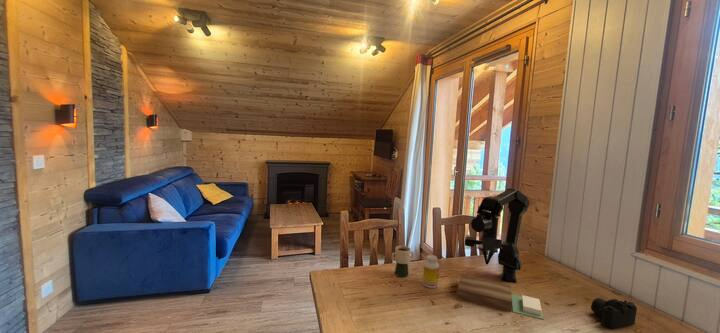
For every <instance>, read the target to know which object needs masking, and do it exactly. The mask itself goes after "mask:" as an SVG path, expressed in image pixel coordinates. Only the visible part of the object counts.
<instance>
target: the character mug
mask: <svg viewBox="0 0 720 333" xmlns="http://www.w3.org/2000/svg"><path fill="white" fill-rule="evenodd" d="M394 248H395V249H394V252H392V253H391V260H394V261H395V262H396V265H395V269H394V270H395V271H394V274H395V275H396V276H398V277H401V278H405V277H408V276H409V265H408V264H409V263H411V259H413V258H414V254H415V253H414V251H412V250H411V247H410V246H406V245H396V246H395V247H394Z"/></svg>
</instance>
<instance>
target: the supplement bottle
mask: <svg viewBox="0 0 720 333" xmlns="http://www.w3.org/2000/svg"><path fill="white" fill-rule="evenodd" d="M439 275H440V264H439V262H438V256H436V255H434V254H428V255H426V260H425V261H424V263H423V274H422V285H423V286H424V287H426V288H428V289H435V288H437V287H438V286H439Z"/></svg>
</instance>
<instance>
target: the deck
mask: <svg viewBox="0 0 720 333" xmlns="http://www.w3.org/2000/svg"><path fill="white" fill-rule="evenodd" d="M459 278H460V279H459V282H458V286H457V290H456V299H458V300H461V301H467V302H470V303H475V304H478V305H483V306H487V307H490V308H495V309H499V310H502V311H507V312H513V308H512V294H513V293H512V285H510V284H504V283H500V282H495V281H491V280H487V279H482V278H477V277H472V276H468V275H462V274H460V277H459Z"/></svg>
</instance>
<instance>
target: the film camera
mask: <svg viewBox="0 0 720 333" xmlns="http://www.w3.org/2000/svg"><path fill="white" fill-rule="evenodd" d="M590 309H591V312H593V313H594V314H595V315H597V316H599V317H600V318H601V323H600V324H601V326H602V327H604V328H605V329H608V330H616V329H620V328H624V327H629V326H633V325H635V324H636V318H637V317H636V316H637V310H638V309H637V306H636V305H635V304H634V302H631V301H627V300H626V299H625V300H619V299H617V298H613V299H610V300H605V299H603V298H600V297H596V298H595V299H593V300H592V302H591V304H590Z"/></svg>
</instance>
